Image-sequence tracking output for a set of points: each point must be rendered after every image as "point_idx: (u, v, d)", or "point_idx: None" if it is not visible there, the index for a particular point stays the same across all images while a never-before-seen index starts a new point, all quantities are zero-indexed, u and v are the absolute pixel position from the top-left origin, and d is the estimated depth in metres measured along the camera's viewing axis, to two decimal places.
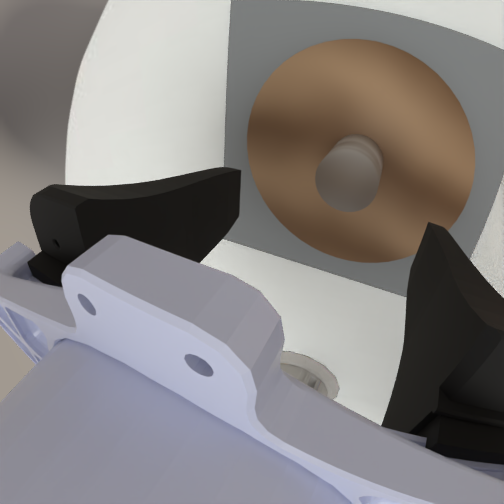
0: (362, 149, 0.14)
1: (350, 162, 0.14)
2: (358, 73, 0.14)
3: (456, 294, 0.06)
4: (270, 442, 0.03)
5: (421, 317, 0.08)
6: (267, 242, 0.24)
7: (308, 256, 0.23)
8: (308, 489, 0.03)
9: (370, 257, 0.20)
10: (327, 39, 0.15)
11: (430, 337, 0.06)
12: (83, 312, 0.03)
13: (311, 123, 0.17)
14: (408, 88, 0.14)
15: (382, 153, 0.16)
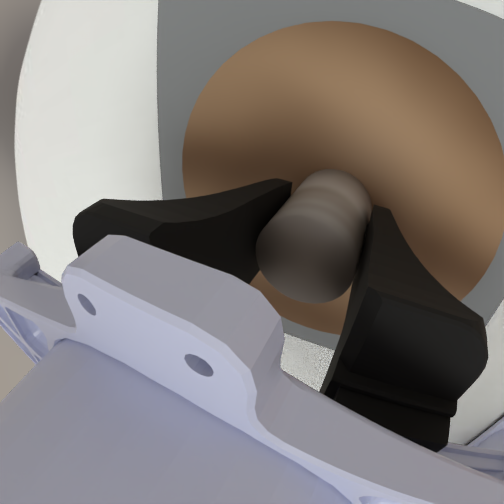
0: (334, 205, 0.09)
1: (309, 233, 0.09)
2: (333, 74, 0.09)
3: (368, 265, 0.06)
4: (270, 442, 0.03)
5: (354, 296, 0.08)
6: None
7: None
8: (308, 489, 0.03)
9: None
10: (288, 25, 0.10)
11: (351, 312, 0.07)
12: (83, 312, 0.03)
13: (265, 153, 0.12)
14: (413, 97, 0.09)
15: (370, 198, 0.11)
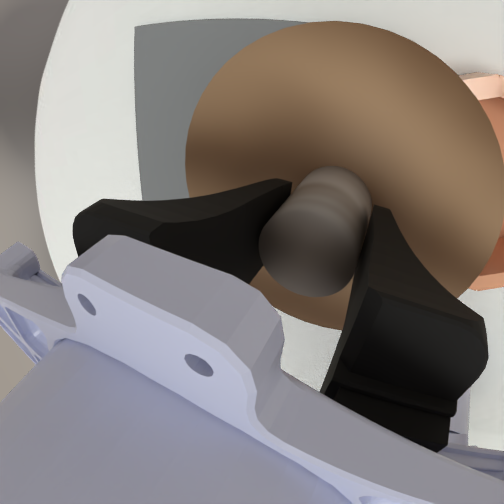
0: (336, 201, 0.09)
1: (312, 227, 0.09)
2: (335, 74, 0.10)
3: (368, 265, 0.06)
4: (270, 442, 0.03)
5: (354, 296, 0.08)
6: None
7: None
8: (308, 489, 0.03)
9: None
10: (200, 51, 0.18)
11: (351, 312, 0.07)
12: (83, 312, 0.03)
13: (267, 150, 0.12)
14: (413, 97, 0.09)
15: (370, 195, 0.11)
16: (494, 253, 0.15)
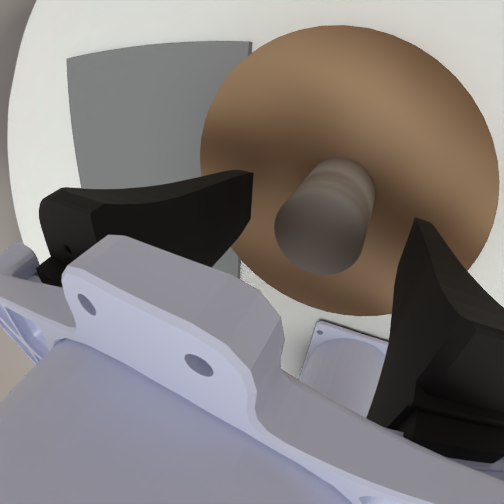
0: (345, 186, 0.10)
1: (324, 209, 0.10)
2: (344, 73, 0.10)
3: (435, 287, 0.06)
4: (270, 442, 0.03)
5: (405, 311, 0.08)
6: None
7: None
8: (308, 489, 0.03)
9: (353, 309, 0.16)
10: (110, 78, 0.20)
11: (411, 331, 0.07)
12: (83, 312, 0.03)
13: (279, 142, 0.13)
14: (414, 95, 0.10)
15: (374, 184, 0.12)
16: None
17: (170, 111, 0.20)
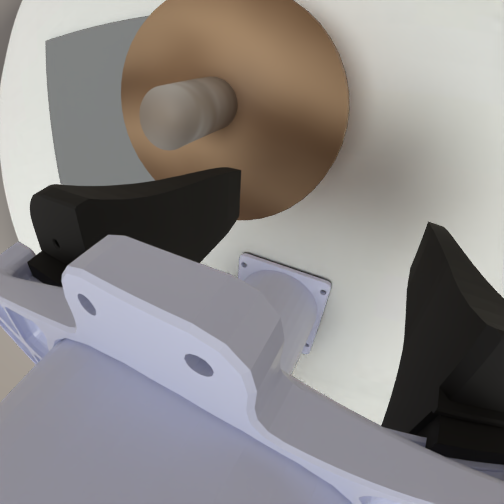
0: (187, 83, 0.13)
1: (164, 96, 0.12)
2: (206, 15, 0.13)
3: (456, 294, 0.06)
4: (270, 442, 0.03)
5: (421, 316, 0.08)
6: (76, 181, 0.32)
7: None
8: (308, 489, 0.03)
9: (241, 213, 0.19)
10: (76, 53, 0.23)
11: (430, 337, 0.06)
12: (83, 312, 0.03)
13: (168, 74, 0.16)
14: (256, 18, 0.12)
15: (234, 92, 0.15)
16: None
17: (117, 74, 0.22)
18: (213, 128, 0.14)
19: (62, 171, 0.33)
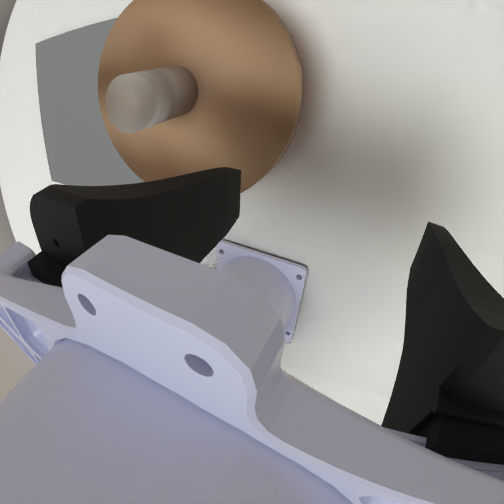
0: (146, 72, 0.13)
1: (125, 84, 0.12)
2: (168, 10, 0.13)
3: (456, 294, 0.06)
4: (270, 442, 0.03)
5: (421, 316, 0.08)
6: (65, 177, 0.33)
7: (81, 182, 0.32)
8: (308, 489, 0.03)
9: None
10: (63, 54, 0.23)
11: (430, 337, 0.06)
12: (83, 312, 0.03)
13: (138, 67, 0.16)
14: (211, 9, 0.13)
15: (194, 79, 0.15)
16: None
17: None
18: (173, 112, 0.15)
19: (53, 168, 0.33)
